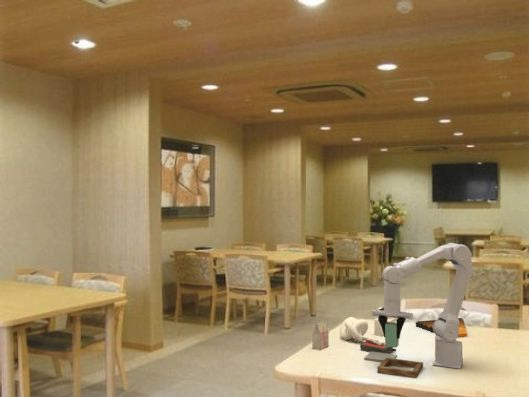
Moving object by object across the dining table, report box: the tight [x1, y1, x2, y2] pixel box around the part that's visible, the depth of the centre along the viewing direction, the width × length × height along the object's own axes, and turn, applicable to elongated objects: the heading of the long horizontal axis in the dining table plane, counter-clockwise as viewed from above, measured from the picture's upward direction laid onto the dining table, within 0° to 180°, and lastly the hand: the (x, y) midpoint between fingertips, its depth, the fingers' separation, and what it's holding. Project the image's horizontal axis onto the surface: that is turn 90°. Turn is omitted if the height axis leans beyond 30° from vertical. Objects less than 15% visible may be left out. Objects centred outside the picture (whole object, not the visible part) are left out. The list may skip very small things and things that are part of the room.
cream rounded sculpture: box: [339, 316, 369, 341], centre depth 238 cm, size 11×12×9 cm
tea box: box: [311, 321, 330, 351], centre depth 224 cm, size 4×7×10 cm, turn 145°
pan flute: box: [415, 317, 468, 338], centre depth 257 cm, size 25×3×25 cm
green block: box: [384, 322, 400, 349], centre depth 200 cm, size 4×4×8 cm
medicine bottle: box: [373, 306, 396, 337], centre depth 248 cm, size 7×7×12 cm
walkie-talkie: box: [354, 338, 397, 354], centre depth 222 cm, size 9×4×20 cm
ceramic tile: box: [363, 352, 398, 363], centre depth 209 cm, size 10×10×1 cm
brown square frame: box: [377, 358, 424, 379], centre depth 194 cm, size 13×13×2 cm
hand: (391, 337), depth 200 cm, fingers closed on green block, 4 cm apart
